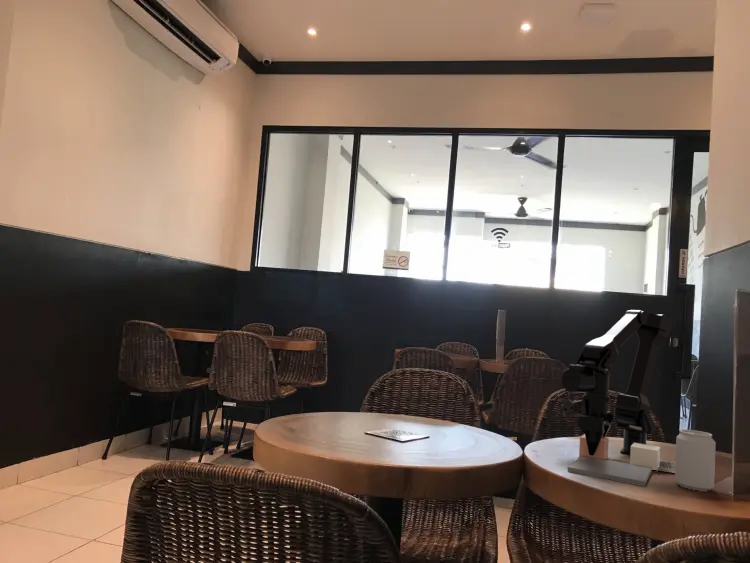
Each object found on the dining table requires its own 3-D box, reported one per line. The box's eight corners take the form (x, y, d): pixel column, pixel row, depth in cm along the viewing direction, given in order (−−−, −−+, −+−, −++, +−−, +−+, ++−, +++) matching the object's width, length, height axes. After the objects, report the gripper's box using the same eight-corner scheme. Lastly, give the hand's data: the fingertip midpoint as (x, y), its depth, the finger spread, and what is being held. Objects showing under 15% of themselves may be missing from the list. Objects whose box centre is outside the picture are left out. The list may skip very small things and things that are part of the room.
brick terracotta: (583, 453, 153) (584, 434, 153) (607, 457, 150) (608, 437, 150) (579, 457, 148) (580, 437, 148) (603, 461, 145) (604, 441, 145)
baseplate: (581, 459, 145) (581, 455, 145) (651, 471, 137) (651, 467, 137) (567, 471, 132) (567, 467, 132) (644, 486, 124) (644, 481, 124)
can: (719, 494, 121) (721, 436, 122) (680, 489, 123) (682, 432, 124) (706, 484, 129) (708, 430, 129) (670, 480, 130) (672, 426, 131)
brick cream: (633, 462, 147) (633, 442, 147) (659, 467, 144) (660, 446, 144) (629, 466, 142) (630, 446, 142) (656, 471, 138) (657, 450, 139)
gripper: (572, 385, 162) (569, 442, 161) (556, 390, 146) (553, 453, 145) (614, 390, 156) (612, 449, 155) (603, 396, 140) (600, 461, 139)
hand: (593, 453), depth 149 cm, fingers closed on brick terracotta, 6 cm apart
